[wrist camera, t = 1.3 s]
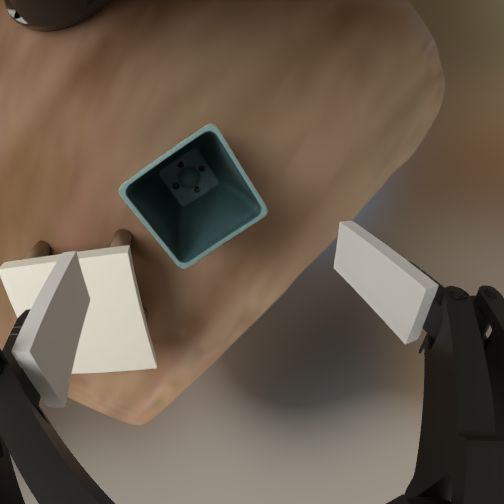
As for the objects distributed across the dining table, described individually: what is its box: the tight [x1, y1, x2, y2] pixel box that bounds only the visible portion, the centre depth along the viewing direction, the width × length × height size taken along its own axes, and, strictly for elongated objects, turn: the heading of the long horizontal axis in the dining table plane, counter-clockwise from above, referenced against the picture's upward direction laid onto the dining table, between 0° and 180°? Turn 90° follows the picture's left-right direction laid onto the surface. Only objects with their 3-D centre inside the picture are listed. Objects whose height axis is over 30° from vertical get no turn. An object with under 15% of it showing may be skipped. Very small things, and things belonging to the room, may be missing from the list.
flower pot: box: [119, 123, 268, 269], centre depth 26 cm, size 9×9×9 cm
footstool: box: [0, 229, 157, 374], centre depth 28 cm, size 14×14×8 cm
